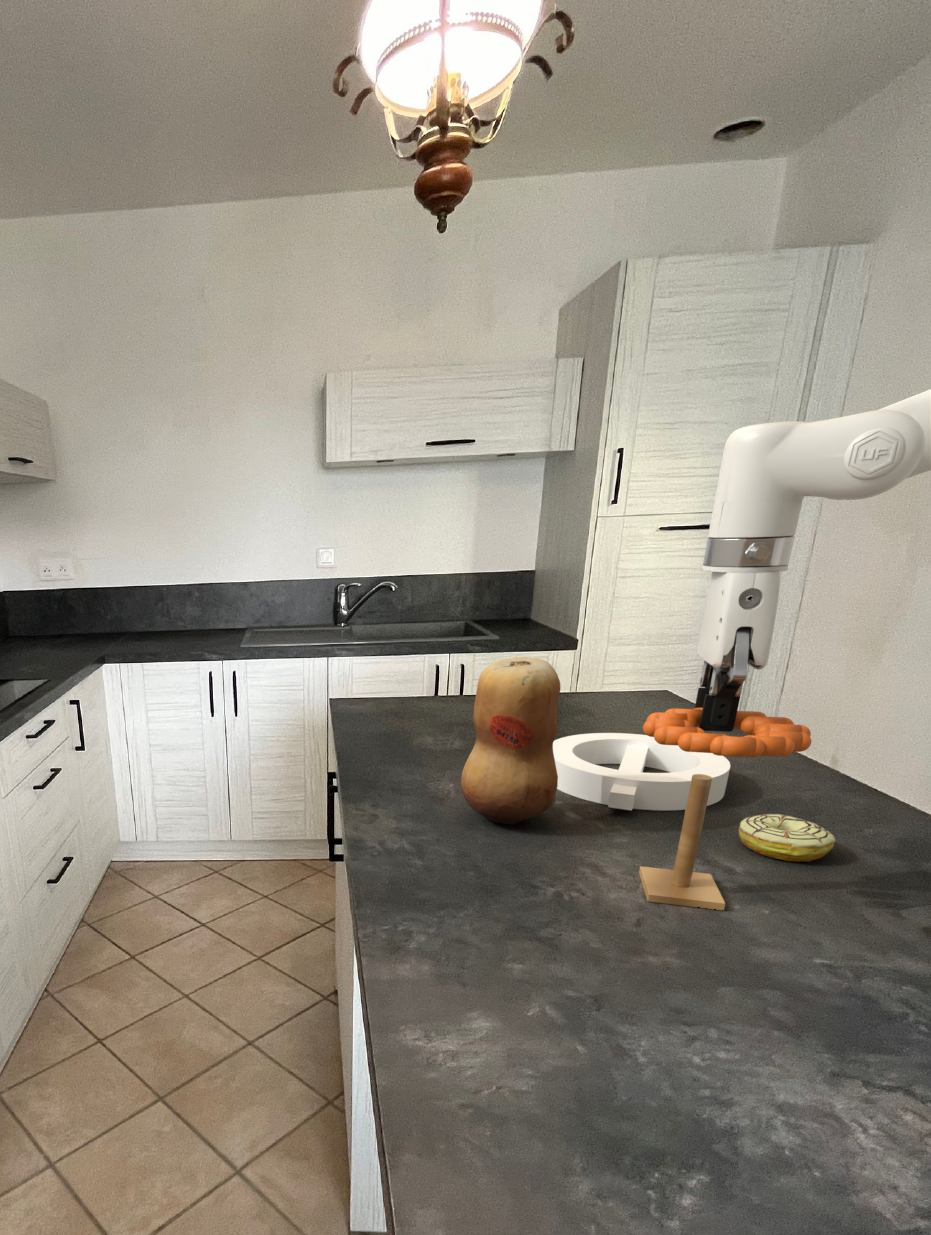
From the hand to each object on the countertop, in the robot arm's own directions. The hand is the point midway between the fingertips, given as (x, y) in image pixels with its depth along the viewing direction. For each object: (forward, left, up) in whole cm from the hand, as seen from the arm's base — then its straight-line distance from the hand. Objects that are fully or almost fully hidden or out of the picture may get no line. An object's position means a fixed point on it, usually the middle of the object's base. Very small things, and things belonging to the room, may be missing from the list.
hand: (712, 725), depth 82 cm
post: (0, 0, -21) cm, 21 cm away
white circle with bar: (+1, -42, -21) cm, 47 cm away
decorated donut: (-15, -17, -21) cm, 31 cm away
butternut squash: (+21, -18, -21) cm, 35 cm away
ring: (0, +5, 0) cm, 5 cm away
